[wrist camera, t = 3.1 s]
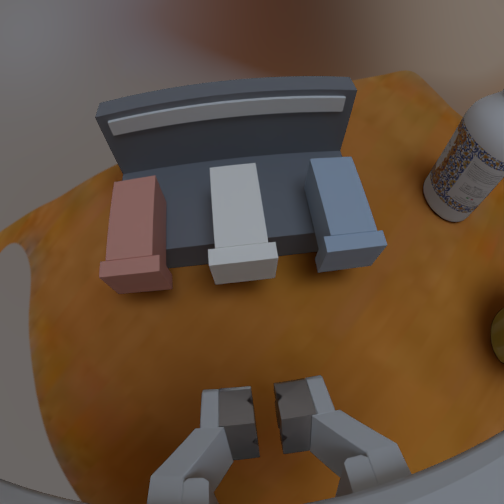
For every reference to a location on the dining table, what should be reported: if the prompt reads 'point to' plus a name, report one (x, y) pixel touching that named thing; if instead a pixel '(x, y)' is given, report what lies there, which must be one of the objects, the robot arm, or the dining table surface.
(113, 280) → the terracotta key
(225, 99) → the console
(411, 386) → the dining table surface
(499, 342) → the plant pot
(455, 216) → the bath foam
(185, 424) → the dining table surface
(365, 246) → the slate-blue key
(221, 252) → the ivory key
